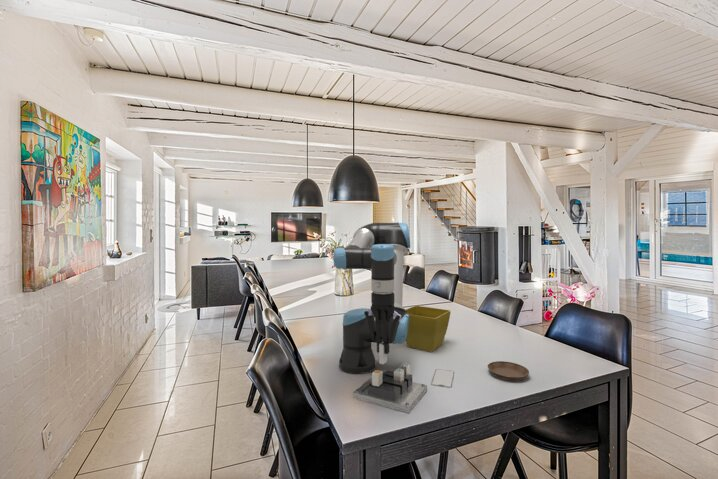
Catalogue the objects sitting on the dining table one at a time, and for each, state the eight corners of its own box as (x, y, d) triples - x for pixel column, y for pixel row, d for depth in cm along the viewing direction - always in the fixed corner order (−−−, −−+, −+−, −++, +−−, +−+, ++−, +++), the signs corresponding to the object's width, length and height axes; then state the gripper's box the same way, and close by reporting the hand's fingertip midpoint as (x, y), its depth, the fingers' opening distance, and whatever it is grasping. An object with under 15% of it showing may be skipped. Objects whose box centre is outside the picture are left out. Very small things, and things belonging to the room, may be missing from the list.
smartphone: (454, 371, 142) (451, 387, 128) (454, 372, 142) (451, 389, 128) (435, 368, 144) (430, 384, 130) (435, 370, 144) (430, 386, 130)
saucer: (538, 380, 134) (538, 373, 134) (504, 386, 130) (504, 378, 129) (510, 365, 148) (510, 359, 148) (479, 370, 144) (479, 363, 144)
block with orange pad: (372, 385, 119) (371, 372, 118) (376, 381, 121) (376, 369, 121) (378, 386, 118) (378, 374, 117) (382, 383, 120) (382, 370, 120)
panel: (353, 398, 121) (353, 371, 120) (375, 378, 136) (375, 355, 135) (409, 413, 111) (409, 384, 111) (426, 390, 126) (427, 365, 125)
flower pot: (415, 337, 185) (415, 304, 184) (451, 344, 174) (451, 309, 173) (397, 347, 170) (397, 312, 169) (435, 356, 159) (435, 318, 158)
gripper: (359, 291, 117) (360, 362, 118) (396, 295, 111) (396, 370, 112) (370, 288, 123) (370, 355, 125) (405, 291, 117) (405, 362, 118)
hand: (383, 362), depth 118 cm, fingers closed
